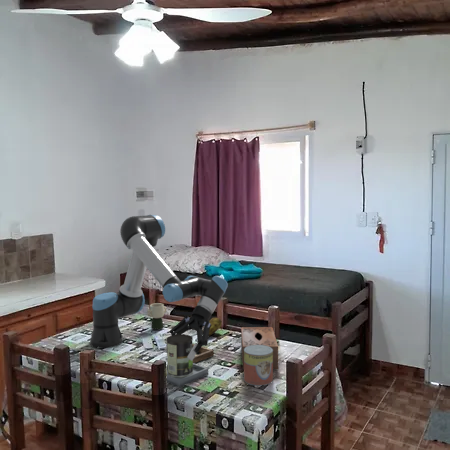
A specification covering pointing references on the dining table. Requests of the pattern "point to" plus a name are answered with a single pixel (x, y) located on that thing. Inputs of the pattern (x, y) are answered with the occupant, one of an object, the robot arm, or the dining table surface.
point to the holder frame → (203, 354)
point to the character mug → (157, 315)
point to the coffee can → (179, 355)
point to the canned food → (258, 365)
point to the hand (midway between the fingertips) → (177, 355)
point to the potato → (214, 325)
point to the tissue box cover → (259, 340)
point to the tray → (197, 373)
